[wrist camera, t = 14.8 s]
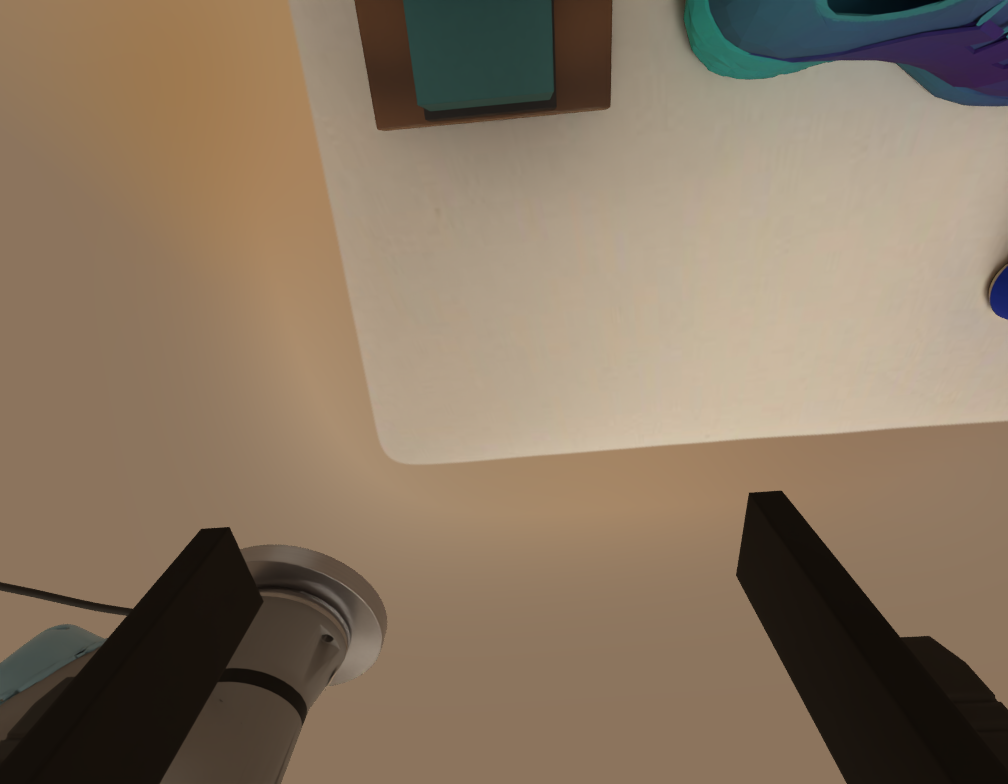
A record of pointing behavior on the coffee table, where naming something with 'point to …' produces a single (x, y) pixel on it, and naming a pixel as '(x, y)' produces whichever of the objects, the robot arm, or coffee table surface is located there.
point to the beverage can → (1000, 293)
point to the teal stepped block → (482, 56)
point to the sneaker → (860, 40)
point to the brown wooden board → (577, 90)
